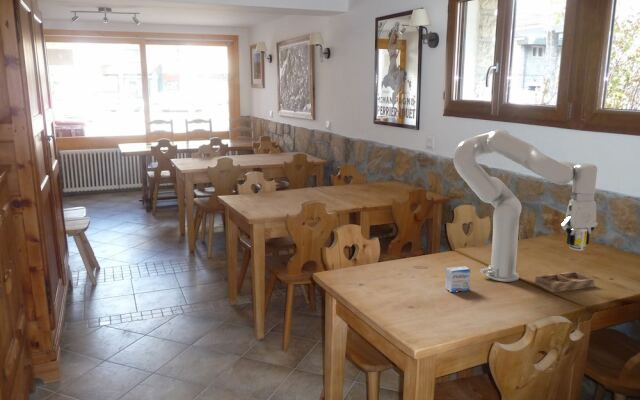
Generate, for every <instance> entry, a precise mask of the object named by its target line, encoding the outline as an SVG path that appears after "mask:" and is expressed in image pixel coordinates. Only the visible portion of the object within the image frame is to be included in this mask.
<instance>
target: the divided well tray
mask: <svg viewBox="0 0 640 400" xmlns="http://www.w3.org/2000/svg"><path fill="white" fill-rule="evenodd" d="M534 279H535V280H534V281H535V282H534V284H535V285H537V286H539V287H541V288H543V289H545V290H547V291H549V292H551V293H557V292H565V291H571V290H572V291H573V290H580V289H586V288H587V289H588V288H594V287H595V286H594V285H595V279H594V278H592V277H590V276H587V275H586V274H583V273H580V272H578V271H577V270H576V271H575V270H574V271H566V272H559V273H550V274H544V275H543V274H542V275H535V278H534Z"/></svg>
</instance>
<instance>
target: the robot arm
mask: <svg viewBox="0 0 640 400" xmlns="http://www.w3.org/2000/svg"><path fill="white" fill-rule="evenodd" d="M492 153H496V154H497V155H499V156H502V157H504V158H506V159H508V160H510V161H512V162H514V163H517V164H518V165H520V166H522V167H523V168H525V169H527V170H528V171H529V170H530V171H531V172H532V173H535V175H537V176H539V177H542V178H544V179H546V180H548V181H549V182H552V183H554V184H556V185H562V186H563V185H566V184H569V183H570V182H571V181H572V187H571V188H572V189H571V194H569V199H570V200H569V202H568V205H567V208H566V214H565V219H564V221H563V222H562V223H561V224H560V226H561V228H562V229H563V231H565V234H567V236H566V244H567V245H572V246H573V245H574V240H575V235H574V232H575V230H576V228H587V239H586V245H589V242H590V235H591V234H592V231H593V230H594V229H595V228H596V227H597V226H598V224H599V222H598V221H597V202H596V201H595V195H596V182H597V178H598V177H597V173H598V167H597V166H596V164H592V163H582V162H581V163H576V162H575V163H574V162H570V161H558V160H556V159H553V158H552V157H550V156H548V155H547V154H545V153H543V152H542V151H540V150H539V148H537V147H536V146H534V145H533V144H532V143H529V142H527V141H525V140H522V139H520V138H518V137H516V136H514V135H512V134H510V132H509V131H508V130H506V129H504V128H503V129H502V128H498V129H495V130H493V131H490V132H486V133H482V134H478V135H475V136H471V137H469V138H466V139H464V140H461V142H459V143H458V145H457V146H456V147H455V150H454V153H453V160H452V161H453V166H454V168H455V170H456V172H457V173H458V175H459V176H460V177H461V179H463V180H464V182H465V183H466V184H467V186H469V188H470V189H471V191H472V192H474V193H475V195H476V196H477V197H478V198H479V200H480V201H482V202H484V203H485V204H491V206H492V207H493V208H494V210H493V215H492V217H493V218H492V243H491V244H492V245H491V258H490V259H491V260H490V264H488V267H485V268H480V269H479V273H480V274H485V275H486V277H487V278H489V279H491V280H494V281H497V282H503V283H506V282H507V283H508V282H516V281H518V280H519V279H520V274H519V273H517V272H516V268H517V256H518V255H517V254H518V246H519V245H518V242H519V239H518V238H519V228H520V227H519V224H520V216H521V213H522V208H523V206H522V203H521V201H520V200H519V198H518V197H517V196H516V195H515V194H514V193H513V192H512V190H511V189H510V188H509V187H508V186H507V185H506V184H505V183H504V182H503V181H502V180H501V179H500V178H498V177H495V176H491V175H489V174H488V173H487V171H486V170H485V169H484V168H483V167H482V166H481V165H480V164H478V162H477V158H478V157H481V156H486V155H488V154H492ZM571 228H572V230H571Z"/></svg>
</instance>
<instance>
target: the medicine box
mask: <svg viewBox="0 0 640 400" xmlns="http://www.w3.org/2000/svg"><path fill="white" fill-rule="evenodd" d="M470 279H471V269H470V268H469V267H467V266H465V265H464V266H463V265H461V266H451V267H446V269H445V288H446V289H445V290H446V291H448V290H449V291H448V292H450V293H451V292H454V293H457V292H456V291H462V292H466V291H465V290H469V291H470V284H471V283H470V282H471V280H470Z"/></svg>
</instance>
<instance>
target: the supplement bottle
mask: <svg viewBox="0 0 640 400" xmlns="http://www.w3.org/2000/svg"><path fill="white" fill-rule="evenodd" d="M571 230H572V228H571ZM574 235H575V240H574V245H573V246H572V245H569V244H568V245H569V246H568V247H569V249H571V250H573V251H578V252H579V251H580V252H581V251H585V250H586V247H587V244H586V239H587V228H576V230H575V232H574Z"/></svg>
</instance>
